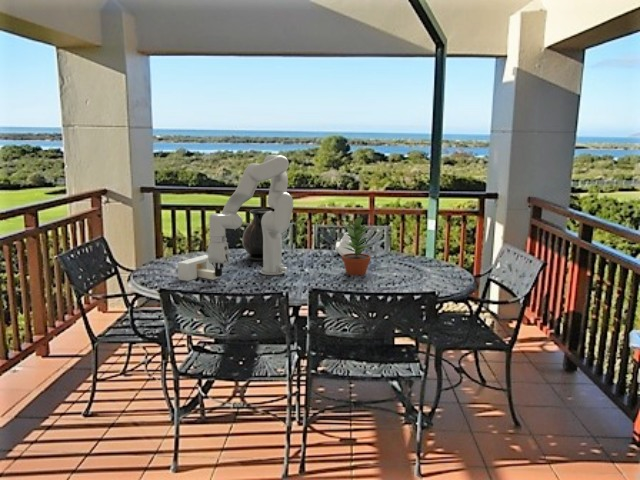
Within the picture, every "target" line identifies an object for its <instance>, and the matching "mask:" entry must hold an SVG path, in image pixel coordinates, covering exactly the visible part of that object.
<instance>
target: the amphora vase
mask: <svg viewBox="0 0 640 480" xmlns="http://www.w3.org/2000/svg"><path fill="white" fill-rule="evenodd" d="M270 211H273V210H272V209H268V208H267V209H265V208H257V209H250V210H249V214H252V217H253V218H252V221H251V222H249V224H248V226H246V228H245V229H244V231H243V235H242V239H241V240H242V241H241V242H242V247H243V249H244V251H245V252H246V253H247V255H246V258H247V259H248V260H250V261H253V262H263V231H262V225H261V220H262V217H263V215H264V214H265V213H266V212H270Z"/></svg>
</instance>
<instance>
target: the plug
mask: <svg viewBox="0 0 640 480" xmlns="http://www.w3.org/2000/svg"><path fill="white" fill-rule="evenodd" d="M196 268H197V278H202V279H208V280H212V281H213V280H216V279H219V277H216V276H215V271H214V270H208V269H202V268H200V263H199V264H196Z"/></svg>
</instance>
